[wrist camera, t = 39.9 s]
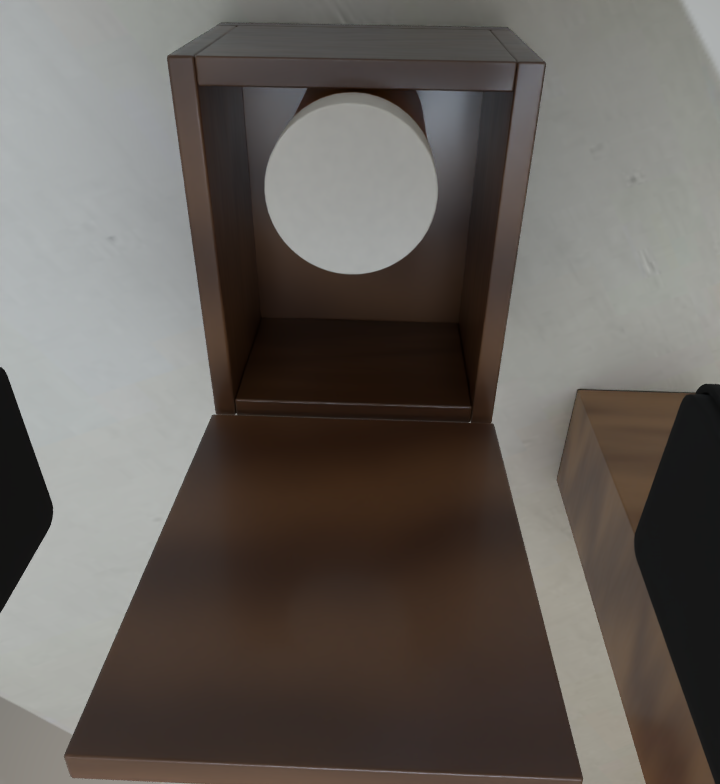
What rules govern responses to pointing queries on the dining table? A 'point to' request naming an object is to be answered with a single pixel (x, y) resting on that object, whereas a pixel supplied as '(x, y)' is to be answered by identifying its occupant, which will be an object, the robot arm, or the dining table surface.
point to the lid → (333, 619)
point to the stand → (628, 568)
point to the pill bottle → (353, 179)
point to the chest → (369, 290)
